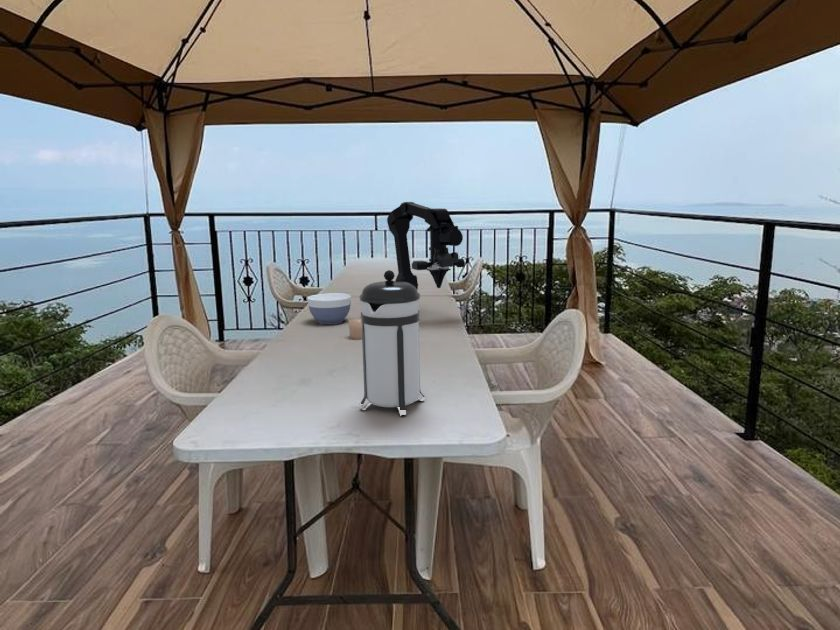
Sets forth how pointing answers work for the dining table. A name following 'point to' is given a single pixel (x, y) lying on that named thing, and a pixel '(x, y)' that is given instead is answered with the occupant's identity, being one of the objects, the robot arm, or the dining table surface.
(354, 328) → the tan block
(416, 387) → the coffee press
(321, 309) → the bowl
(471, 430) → the dining table surface
